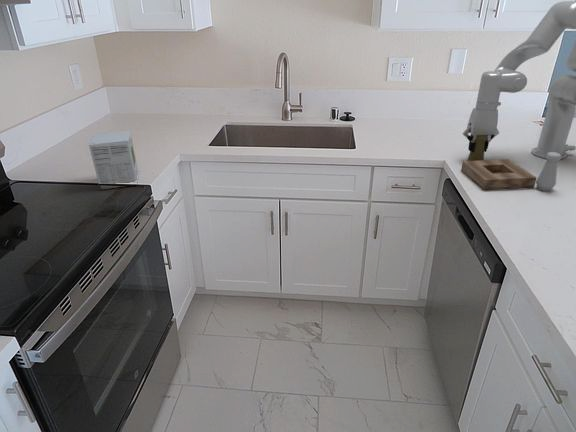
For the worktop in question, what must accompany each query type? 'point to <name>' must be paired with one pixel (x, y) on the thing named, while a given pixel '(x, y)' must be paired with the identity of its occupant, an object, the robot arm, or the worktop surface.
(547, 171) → the salt shaker
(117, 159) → the supplement box
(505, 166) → the walnut holder
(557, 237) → the worktop surface
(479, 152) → the olive pepper mill
